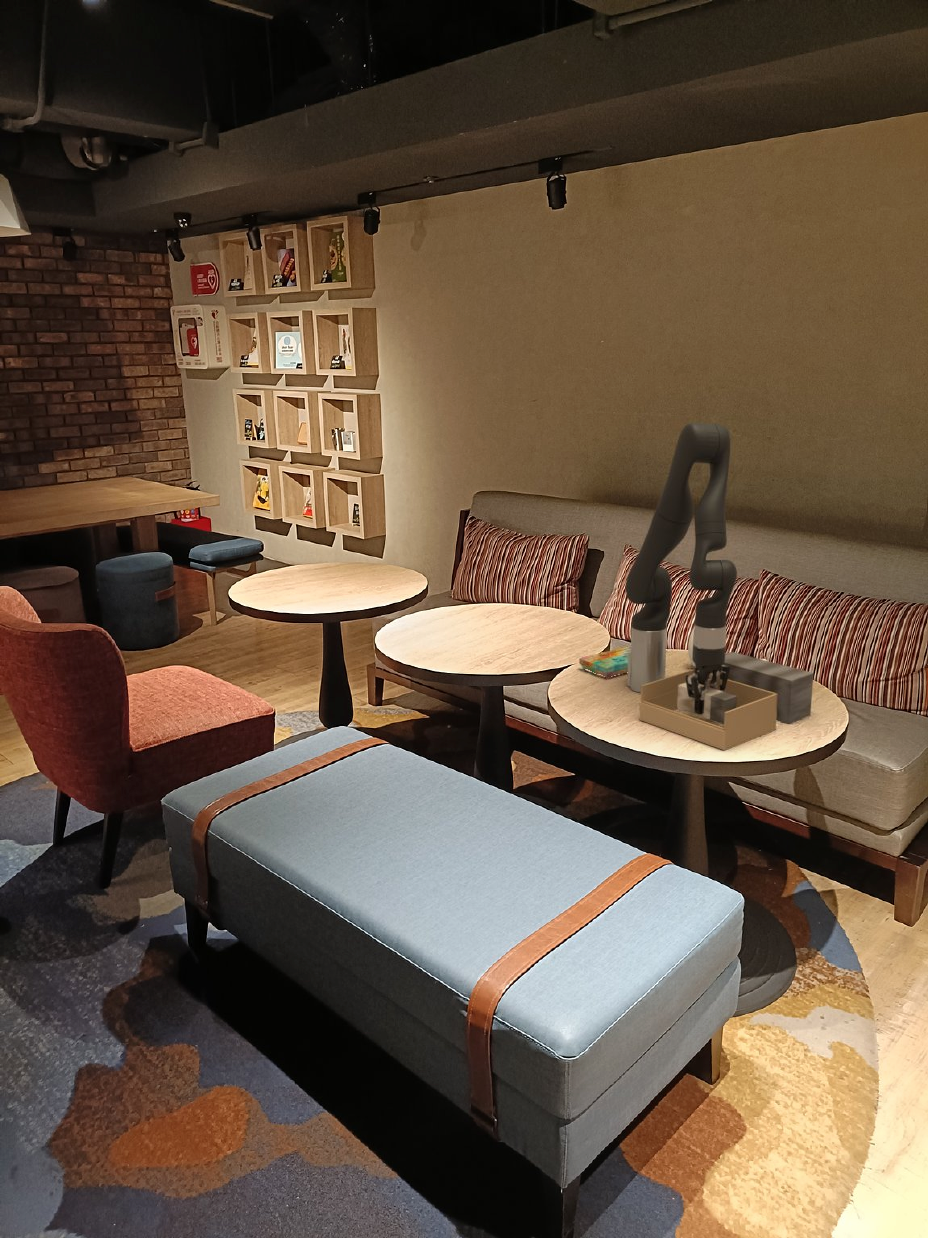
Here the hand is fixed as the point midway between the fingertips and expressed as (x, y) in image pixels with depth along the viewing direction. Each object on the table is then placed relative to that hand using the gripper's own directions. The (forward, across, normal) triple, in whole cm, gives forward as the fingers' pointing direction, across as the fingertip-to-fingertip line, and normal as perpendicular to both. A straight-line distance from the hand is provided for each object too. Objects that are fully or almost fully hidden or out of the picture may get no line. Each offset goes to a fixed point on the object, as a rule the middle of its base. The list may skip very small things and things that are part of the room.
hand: (705, 710), depth 223 cm
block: (+1, 0, 0) cm, 1 cm away
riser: (+4, -20, +1) cm, 20 cm away
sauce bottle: (+4, -33, -28) cm, 44 cm away
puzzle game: (+5, -16, -45) cm, 48 cm away
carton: (+4, 0, 0) cm, 4 cm away
